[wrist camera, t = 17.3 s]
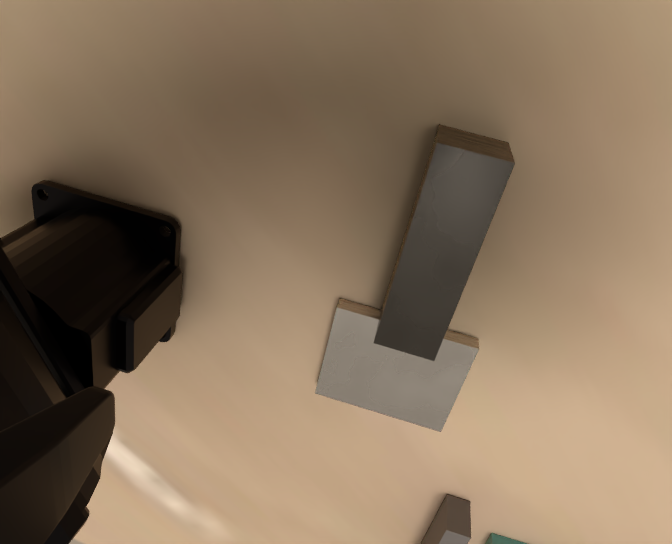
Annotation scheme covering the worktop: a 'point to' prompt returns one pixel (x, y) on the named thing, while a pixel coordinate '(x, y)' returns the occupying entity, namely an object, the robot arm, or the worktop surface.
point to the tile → (501, 540)
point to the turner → (422, 292)
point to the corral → (450, 523)
